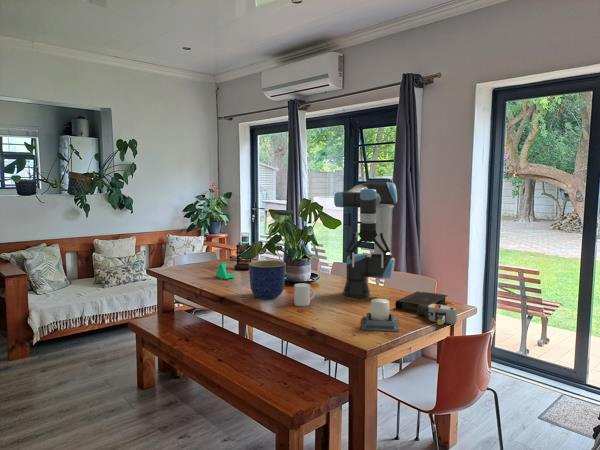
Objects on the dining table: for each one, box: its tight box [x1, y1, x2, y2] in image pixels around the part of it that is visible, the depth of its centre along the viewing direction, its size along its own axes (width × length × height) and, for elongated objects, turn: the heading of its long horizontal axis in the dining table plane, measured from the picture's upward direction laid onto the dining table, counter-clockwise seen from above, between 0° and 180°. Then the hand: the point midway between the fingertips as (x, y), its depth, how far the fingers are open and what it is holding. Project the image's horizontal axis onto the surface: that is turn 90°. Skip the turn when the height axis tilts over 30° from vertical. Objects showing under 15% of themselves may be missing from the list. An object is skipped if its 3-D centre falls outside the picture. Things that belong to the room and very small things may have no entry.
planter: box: [248, 259, 287, 300], centre depth 245 cm, size 21×21×19 cm
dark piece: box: [233, 242, 252, 271], centre depth 325 cm, size 15×15×20 cm
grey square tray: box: [360, 312, 400, 333], centre depth 197 cm, size 16×16×4 cm
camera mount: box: [215, 262, 236, 280], centre depth 295 cm, size 12×8×10 cm, turn 43°
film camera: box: [417, 304, 458, 326], centre depth 201 cm, size 7×19×15 cm
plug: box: [370, 298, 390, 321], centre depth 196 cm, size 8×8×10 cm
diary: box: [394, 290, 449, 314], centre depth 226 cm, size 19×25×5 cm
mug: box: [293, 282, 316, 307], centre depth 232 cm, size 8×10×12 cm
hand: (367, 267), depth 207 cm, fingers open, 13 cm apart
